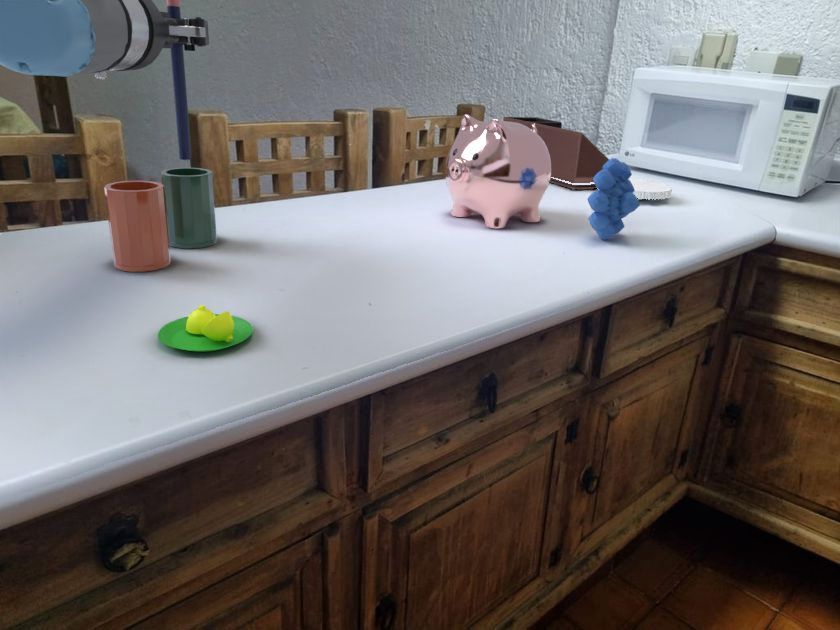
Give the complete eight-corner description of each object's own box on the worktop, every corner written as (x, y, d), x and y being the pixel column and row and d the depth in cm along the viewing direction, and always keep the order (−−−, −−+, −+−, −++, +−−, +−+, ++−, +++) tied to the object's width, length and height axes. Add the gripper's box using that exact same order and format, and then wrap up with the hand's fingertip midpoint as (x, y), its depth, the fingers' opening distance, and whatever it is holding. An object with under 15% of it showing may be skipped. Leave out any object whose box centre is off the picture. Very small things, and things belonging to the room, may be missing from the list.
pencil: (177, 159, 80) (163, -7, 73) (182, 157, 81) (169, -5, 75) (188, 160, 80) (175, -6, 73) (193, 158, 81) (181, -5, 74)
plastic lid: (649, 208, 120) (652, 194, 119) (582, 194, 129) (584, 181, 128) (681, 199, 130) (684, 186, 129) (616, 187, 138) (618, 175, 137)
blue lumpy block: (615, 253, 91) (630, 165, 86) (571, 242, 95) (583, 158, 90) (647, 238, 99) (663, 158, 95) (606, 229, 103) (618, 151, 99)
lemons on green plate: (271, 331, 60) (270, 302, 59) (213, 365, 53) (210, 333, 52) (201, 314, 63) (199, 286, 62) (137, 344, 56) (133, 313, 55)
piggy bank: (418, 214, 106) (423, 111, 100) (495, 203, 117) (505, 110, 111) (485, 237, 95) (496, 122, 89) (564, 222, 106) (578, 120, 100)
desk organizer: (532, 164, 161) (537, 116, 157) (613, 188, 137) (622, 132, 132) (495, 165, 156) (500, 116, 152) (572, 190, 132) (580, 132, 128)
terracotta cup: (103, 268, 73) (92, 188, 70) (133, 254, 79) (124, 178, 76) (153, 274, 73) (145, 193, 69) (180, 259, 78) (173, 183, 75)
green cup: (158, 246, 82) (151, 173, 79) (182, 234, 88) (176, 166, 85) (203, 250, 82) (198, 178, 78) (224, 238, 87) (220, 169, 84)
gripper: (33, 66, 60) (134, 62, 82) (193, 75, 60) (251, 68, 82) (19, -26, 57) (127, -5, 79) (187, -16, 57) (248, 2, 79)
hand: (190, 32), depth 80 cm, fingers closed on pencil
